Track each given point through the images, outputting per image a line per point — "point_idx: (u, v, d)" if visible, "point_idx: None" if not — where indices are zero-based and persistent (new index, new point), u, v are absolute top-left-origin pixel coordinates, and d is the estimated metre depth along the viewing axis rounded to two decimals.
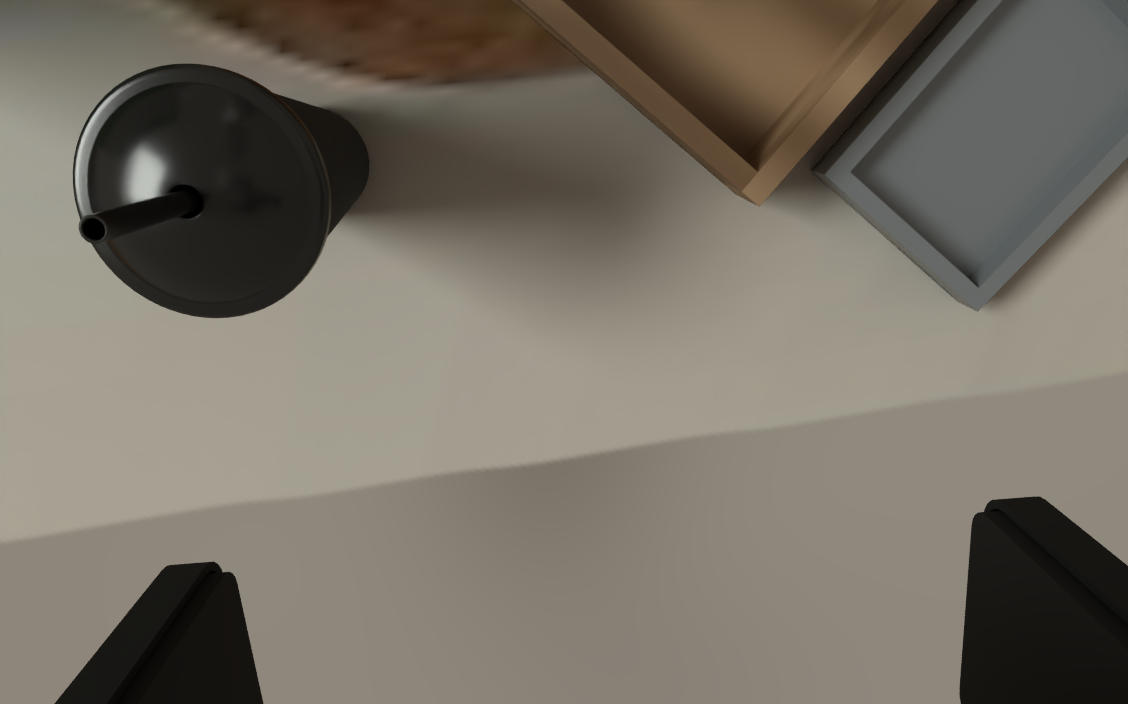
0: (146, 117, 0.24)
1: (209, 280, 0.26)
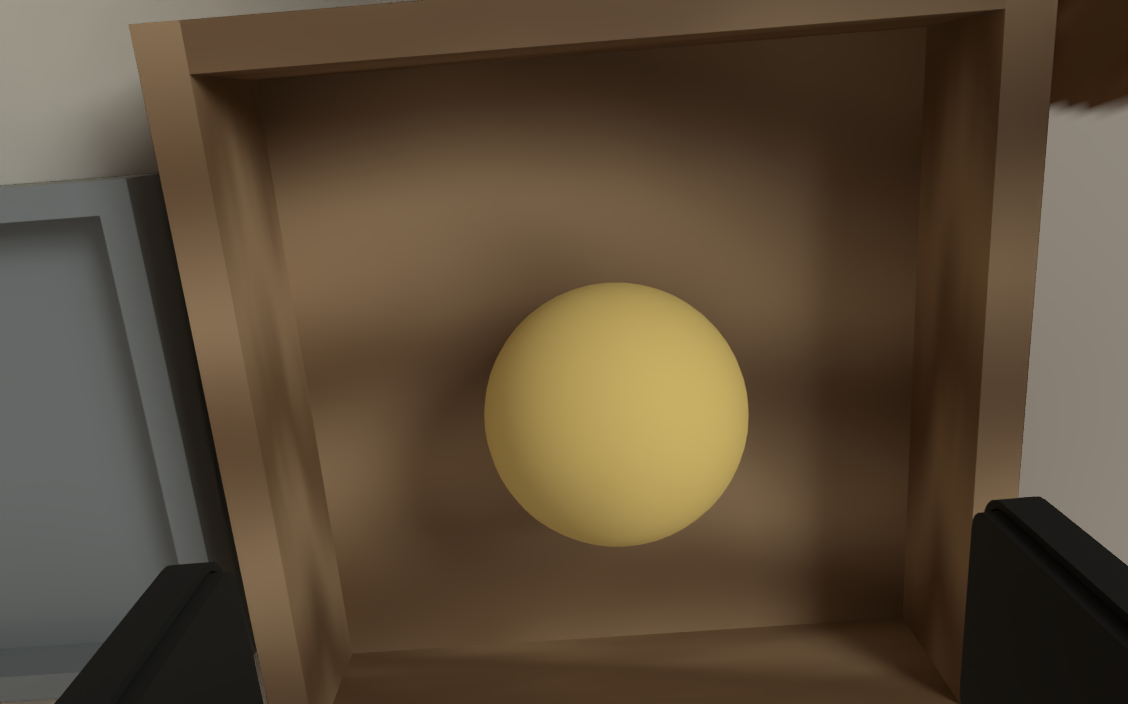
0: None
1: None
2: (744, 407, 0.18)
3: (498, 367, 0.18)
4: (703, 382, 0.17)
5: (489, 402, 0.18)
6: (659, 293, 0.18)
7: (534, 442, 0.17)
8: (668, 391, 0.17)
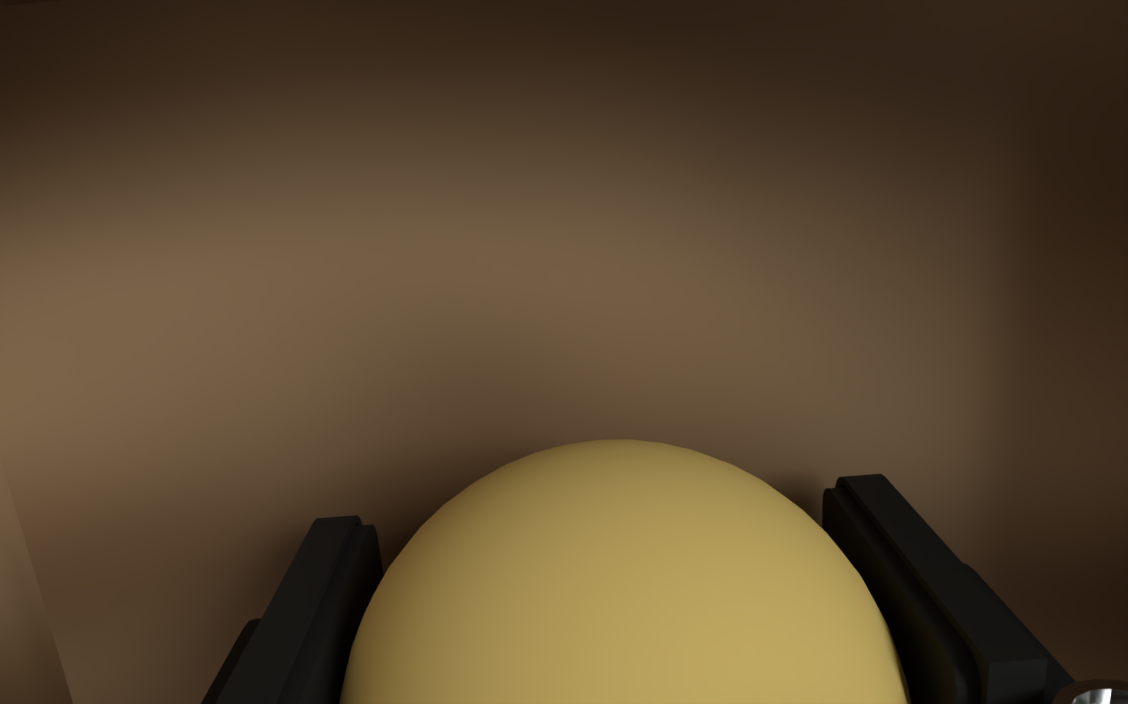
0: None
1: None
2: None
3: (359, 656, 0.08)
4: None
5: None
6: (720, 484, 0.08)
7: None
8: None
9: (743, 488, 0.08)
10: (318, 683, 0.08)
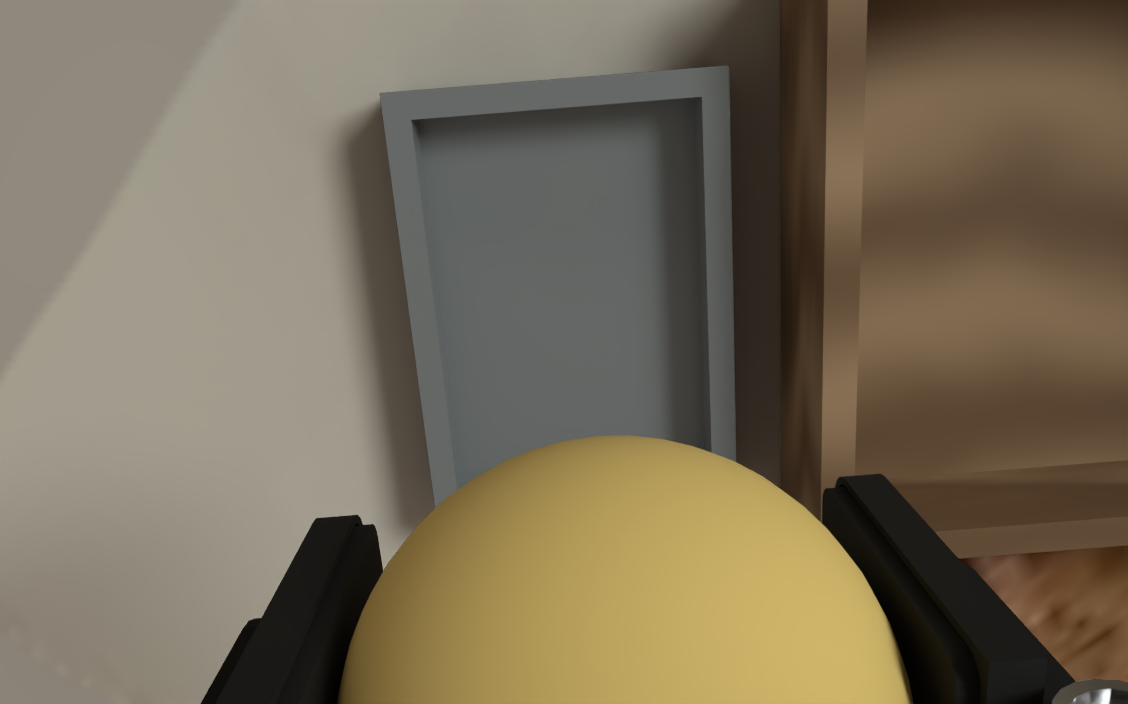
0: None
1: None
2: None
3: (357, 653, 0.08)
4: None
5: None
6: (721, 480, 0.08)
7: None
8: None
9: (744, 484, 0.08)
10: (318, 683, 0.08)
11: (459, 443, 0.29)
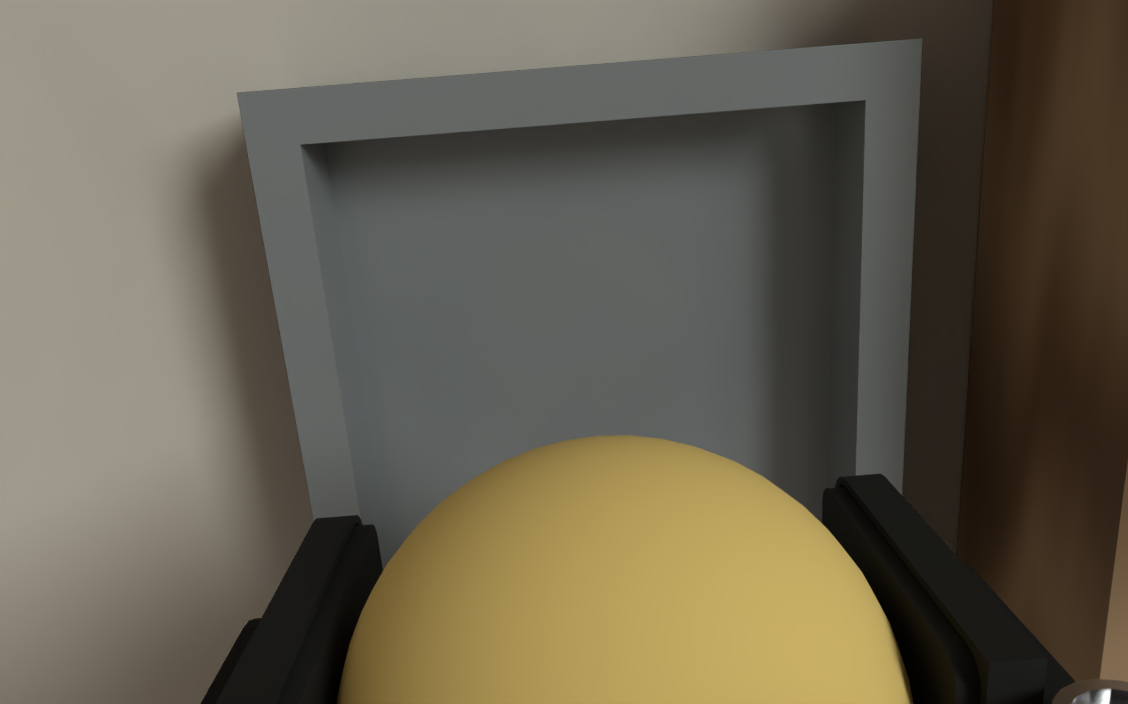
0: None
1: None
2: None
3: (357, 653, 0.08)
4: None
5: None
6: (720, 480, 0.08)
7: None
8: None
9: (743, 484, 0.08)
10: (318, 682, 0.08)
11: None
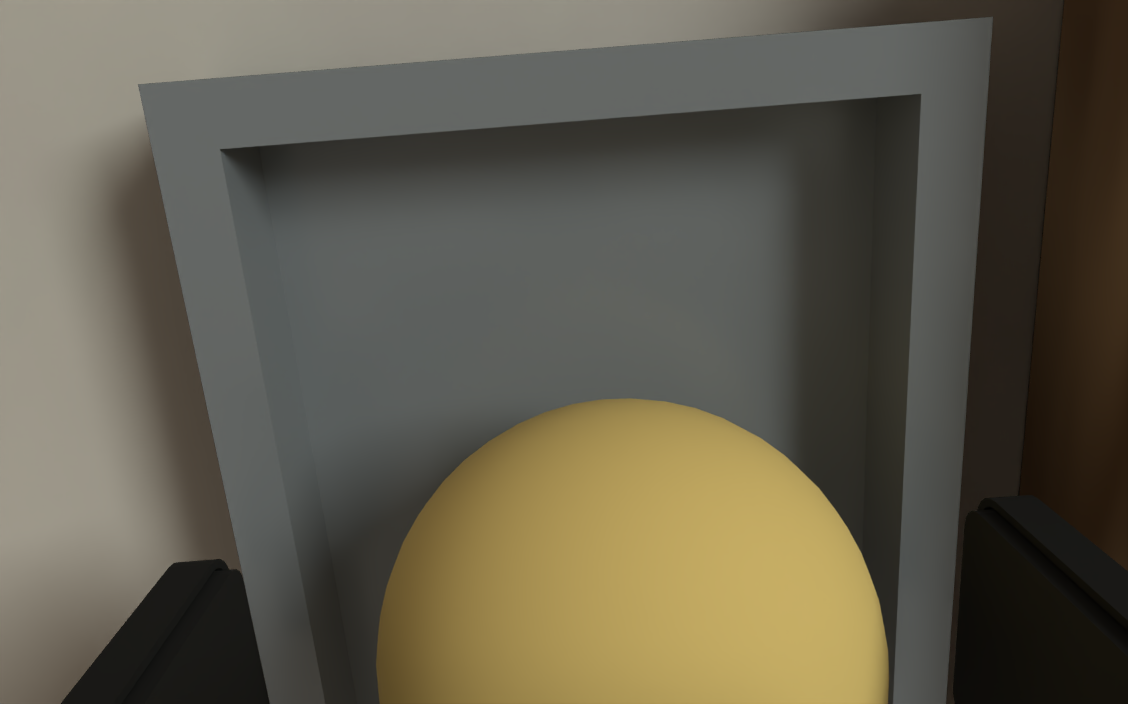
0: None
1: None
2: None
3: (400, 590, 0.09)
4: (831, 640, 0.08)
5: (383, 660, 0.09)
6: (715, 430, 0.09)
7: None
8: (770, 676, 0.08)
9: (734, 434, 0.10)
10: None
11: None
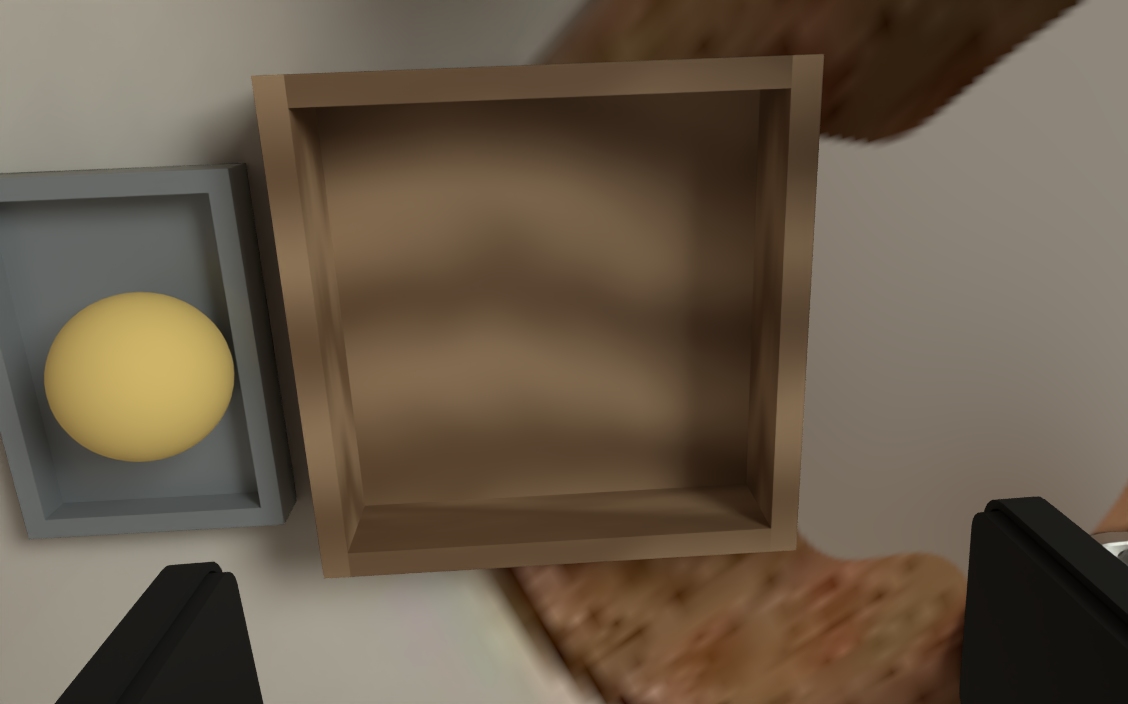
0: None
1: None
2: (228, 360, 0.30)
3: (53, 354, 0.28)
4: (197, 346, 0.29)
5: (49, 378, 0.28)
6: (164, 296, 0.29)
7: (88, 396, 0.27)
8: (176, 353, 0.28)
9: (172, 298, 0.30)
10: None
11: (55, 465, 0.34)
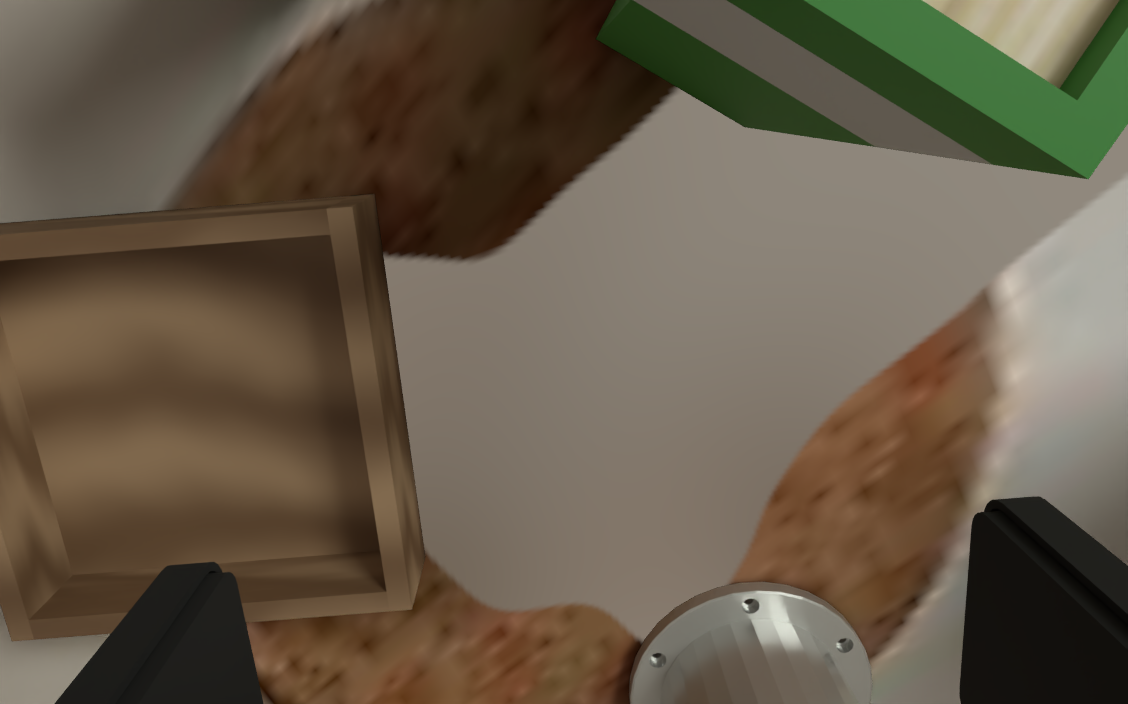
0: None
1: None
2: None
3: None
4: None
5: None
6: None
7: None
8: None
9: None
10: None
11: None
